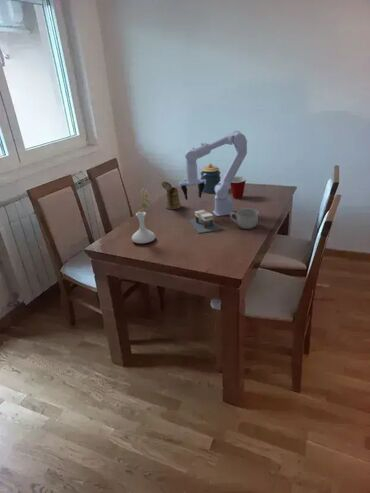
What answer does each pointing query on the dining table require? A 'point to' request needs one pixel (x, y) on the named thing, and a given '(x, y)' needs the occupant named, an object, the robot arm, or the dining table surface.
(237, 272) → the dining table surface
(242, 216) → the teacup
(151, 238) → the flower in vase
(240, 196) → the plastic cup
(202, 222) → the mat
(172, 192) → the wooden mug
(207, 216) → the cream block with tabs
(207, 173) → the canister
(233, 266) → the dining table surface
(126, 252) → the dining table surface
